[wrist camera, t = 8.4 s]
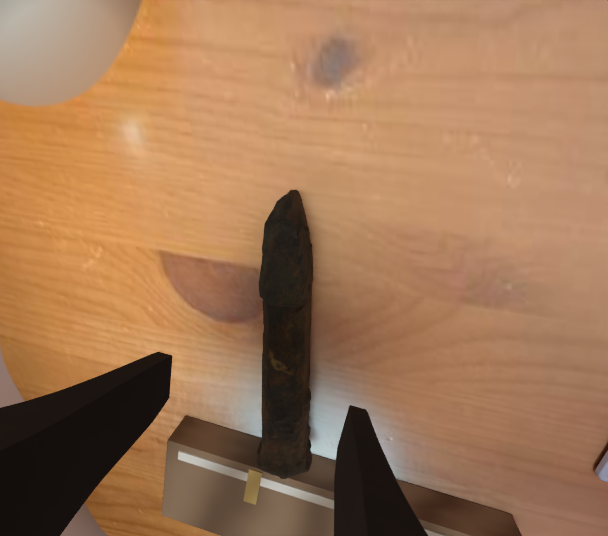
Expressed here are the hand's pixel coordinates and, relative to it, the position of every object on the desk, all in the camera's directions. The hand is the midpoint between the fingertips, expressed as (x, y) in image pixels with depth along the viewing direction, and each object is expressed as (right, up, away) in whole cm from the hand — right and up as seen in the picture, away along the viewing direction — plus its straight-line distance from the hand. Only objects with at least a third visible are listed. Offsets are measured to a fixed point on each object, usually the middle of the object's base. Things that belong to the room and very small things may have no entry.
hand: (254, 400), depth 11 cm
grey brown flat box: (+4, -14, +13) cm, 19 cm away
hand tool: (+1, +1, +10) cm, 10 cm away
